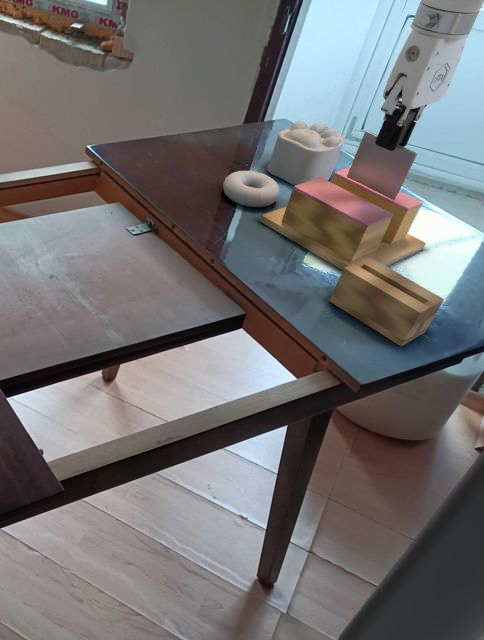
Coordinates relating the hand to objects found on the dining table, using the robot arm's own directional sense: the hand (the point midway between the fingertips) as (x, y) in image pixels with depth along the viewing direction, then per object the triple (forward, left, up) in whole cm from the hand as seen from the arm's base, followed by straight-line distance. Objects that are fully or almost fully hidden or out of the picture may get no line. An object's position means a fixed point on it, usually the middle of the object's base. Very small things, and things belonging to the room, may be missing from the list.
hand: (390, 144), depth 107 cm
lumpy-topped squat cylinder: (+19, -11, -16) cm, 27 cm away
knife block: (-17, +18, -16) cm, 29 cm away
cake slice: (0, -2, -15) cm, 15 cm away
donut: (+17, +7, -16) cm, 25 cm away
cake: (0, +3, -16) cm, 16 cm away
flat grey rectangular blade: (0, 0, -8) cm, 8 cm away
